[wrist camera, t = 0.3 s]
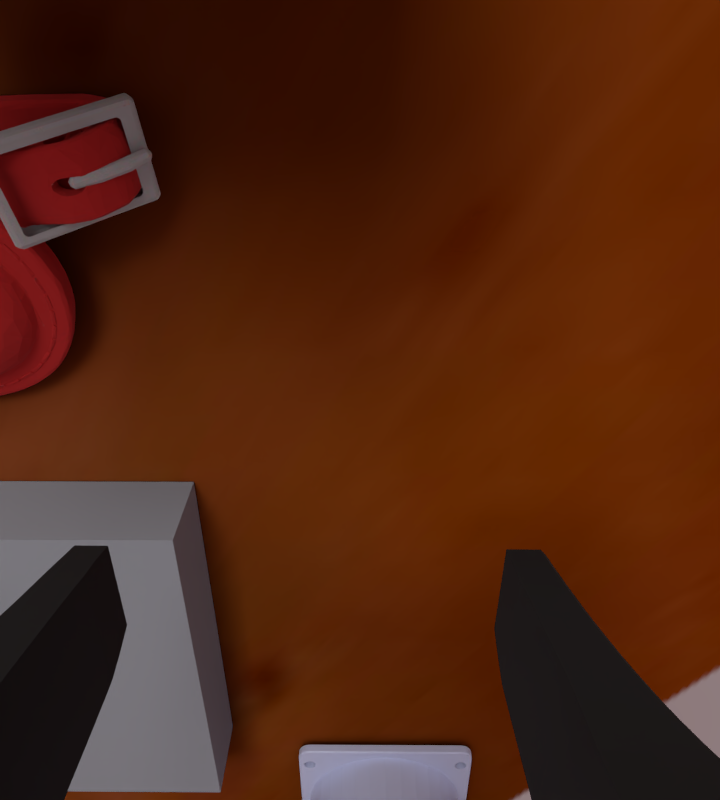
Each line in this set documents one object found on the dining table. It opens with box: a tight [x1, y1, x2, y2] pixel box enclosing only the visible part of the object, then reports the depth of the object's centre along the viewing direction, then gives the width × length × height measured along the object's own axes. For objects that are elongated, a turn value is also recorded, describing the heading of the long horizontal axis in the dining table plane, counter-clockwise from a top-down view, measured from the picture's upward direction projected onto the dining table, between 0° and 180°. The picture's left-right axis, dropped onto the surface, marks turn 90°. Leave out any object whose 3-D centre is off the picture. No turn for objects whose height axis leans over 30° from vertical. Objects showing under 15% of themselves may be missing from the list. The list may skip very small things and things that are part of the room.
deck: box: [0, 481, 233, 792], centre depth 26 cm, size 14×15×3 cm
